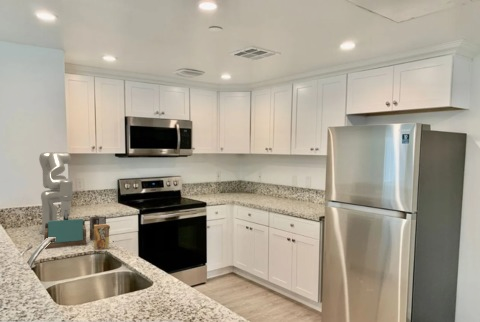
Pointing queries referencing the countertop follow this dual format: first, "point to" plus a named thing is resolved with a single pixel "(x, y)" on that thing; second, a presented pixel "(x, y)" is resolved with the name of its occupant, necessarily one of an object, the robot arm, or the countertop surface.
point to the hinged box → (66, 244)
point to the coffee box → (95, 221)
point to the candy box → (101, 236)
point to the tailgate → (66, 230)
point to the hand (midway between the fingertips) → (65, 226)
